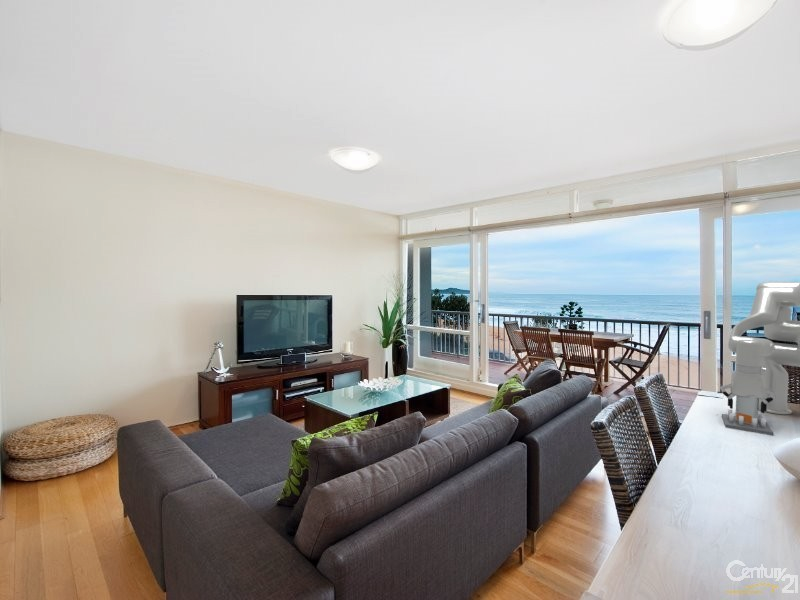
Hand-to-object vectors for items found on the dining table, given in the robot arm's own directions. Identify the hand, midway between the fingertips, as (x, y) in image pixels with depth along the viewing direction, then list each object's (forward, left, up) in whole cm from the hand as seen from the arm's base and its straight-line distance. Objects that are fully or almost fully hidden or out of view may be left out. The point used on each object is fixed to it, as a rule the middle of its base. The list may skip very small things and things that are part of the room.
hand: (746, 410), depth 155 cm
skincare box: (0, 0, -5) cm, 5 cm away
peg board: (0, 0, -6) cm, 6 cm away
